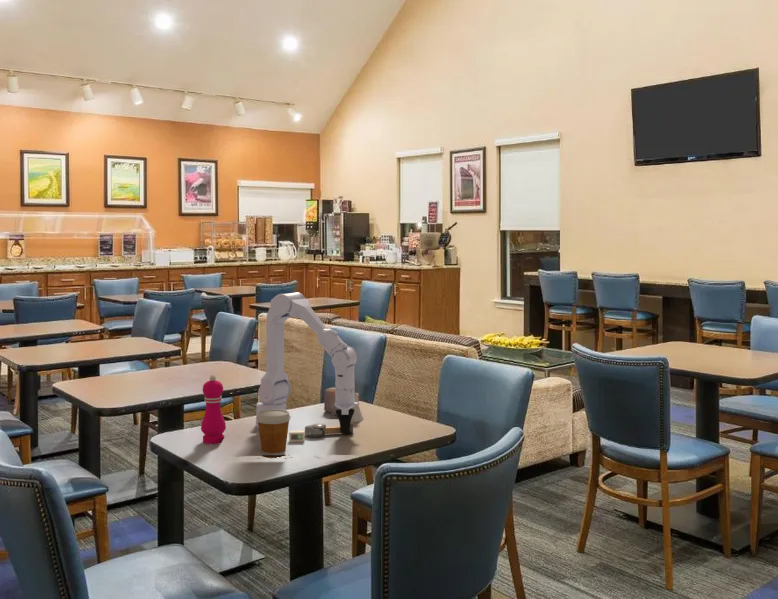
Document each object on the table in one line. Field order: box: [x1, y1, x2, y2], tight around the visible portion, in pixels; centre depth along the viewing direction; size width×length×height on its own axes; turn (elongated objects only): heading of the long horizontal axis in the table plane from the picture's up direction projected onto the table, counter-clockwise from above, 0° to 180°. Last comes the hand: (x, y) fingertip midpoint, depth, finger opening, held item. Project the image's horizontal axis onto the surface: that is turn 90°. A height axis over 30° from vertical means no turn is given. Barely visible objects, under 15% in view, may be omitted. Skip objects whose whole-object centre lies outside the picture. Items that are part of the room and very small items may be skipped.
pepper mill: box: [200, 374, 227, 445], centre depth 228 cm, size 7×7×20 cm
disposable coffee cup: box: [255, 409, 292, 459], centre depth 215 cm, size 10×10×12 cm
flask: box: [351, 392, 364, 423], centre depth 251 cm, size 7×7×10 cm
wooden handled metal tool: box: [304, 422, 354, 439], centre depth 232 cm, size 15×6×3 cm, turn 105°
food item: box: [323, 386, 360, 416], centre depth 265 cm, size 14×8×10 cm, turn 40°
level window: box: [288, 429, 306, 443], centre depth 224 cm, size 4×3×3 cm
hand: (345, 433), depth 231 cm, fingers closed, pressing on wooden handled metal tool
